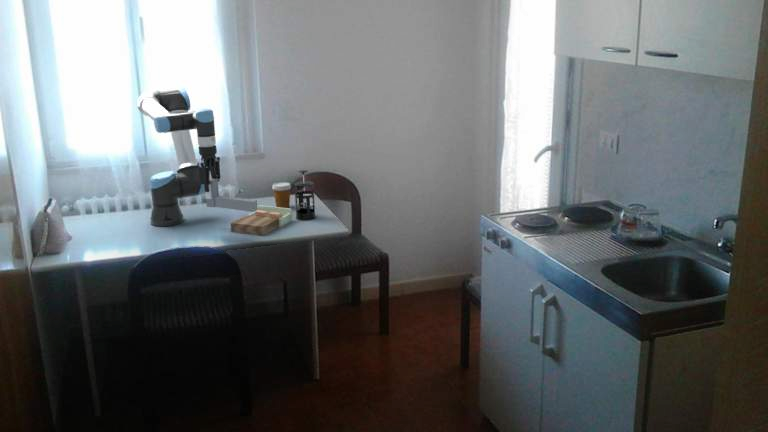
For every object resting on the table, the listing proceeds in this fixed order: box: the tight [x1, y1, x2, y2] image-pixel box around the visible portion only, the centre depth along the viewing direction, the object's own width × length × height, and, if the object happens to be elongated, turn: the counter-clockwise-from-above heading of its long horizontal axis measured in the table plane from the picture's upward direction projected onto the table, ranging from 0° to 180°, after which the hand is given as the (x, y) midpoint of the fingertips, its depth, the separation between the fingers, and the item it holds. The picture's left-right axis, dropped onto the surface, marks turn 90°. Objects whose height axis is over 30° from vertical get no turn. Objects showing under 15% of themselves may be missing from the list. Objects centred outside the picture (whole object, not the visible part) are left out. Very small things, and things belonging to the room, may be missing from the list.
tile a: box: [255, 210, 268, 217], centre depth 334 cm, size 5×5×3 cm
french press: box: [293, 169, 317, 222], centre depth 338 cm, size 12×9×23 cm
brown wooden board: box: [230, 214, 280, 236], centre depth 325 cm, size 17×13×4 cm
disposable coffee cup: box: [271, 181, 292, 208], centre depth 357 cm, size 10×10×12 cm
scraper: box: [205, 177, 258, 213], centre depth 313 cm, size 24×4×12 cm, turn 68°
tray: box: [248, 204, 293, 228], centre depth 335 cm, size 18×10×6 cm, turn 67°
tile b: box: [269, 212, 282, 224], centre depth 331 cm, size 5×5×3 cm
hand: (212, 197), depth 317 cm, fingers closed on scraper, 4 cm apart
